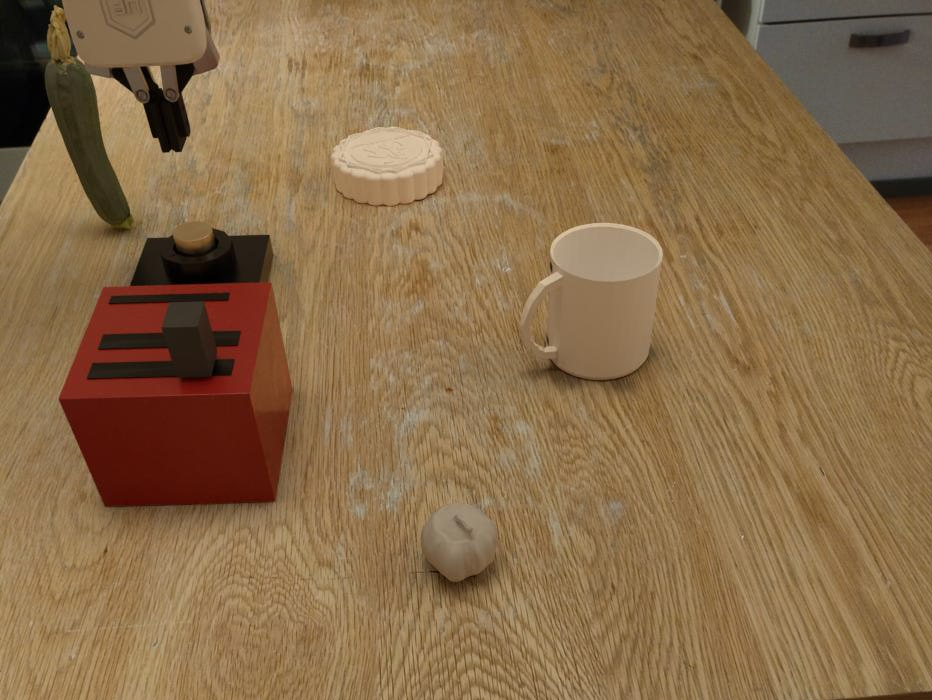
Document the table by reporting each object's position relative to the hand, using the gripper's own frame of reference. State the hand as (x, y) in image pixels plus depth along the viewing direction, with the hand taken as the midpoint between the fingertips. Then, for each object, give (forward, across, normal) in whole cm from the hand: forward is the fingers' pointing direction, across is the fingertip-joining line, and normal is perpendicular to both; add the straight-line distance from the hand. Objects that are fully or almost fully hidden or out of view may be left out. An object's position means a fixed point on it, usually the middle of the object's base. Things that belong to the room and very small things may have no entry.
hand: (174, 144), depth 83 cm
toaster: (+13, +3, -24) cm, 28 cm away
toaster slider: (+3, +6, -28) cm, 29 cm away
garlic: (+13, +23, -38) cm, 47 cm away
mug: (+14, +34, -13) cm, 39 cm away
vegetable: (+13, -12, +11) cm, 21 cm away
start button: (+9, -1, 0) cm, 9 cm away
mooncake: (+13, +16, +20) cm, 29 cm away
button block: (+13, -1, 0) cm, 13 cm away
